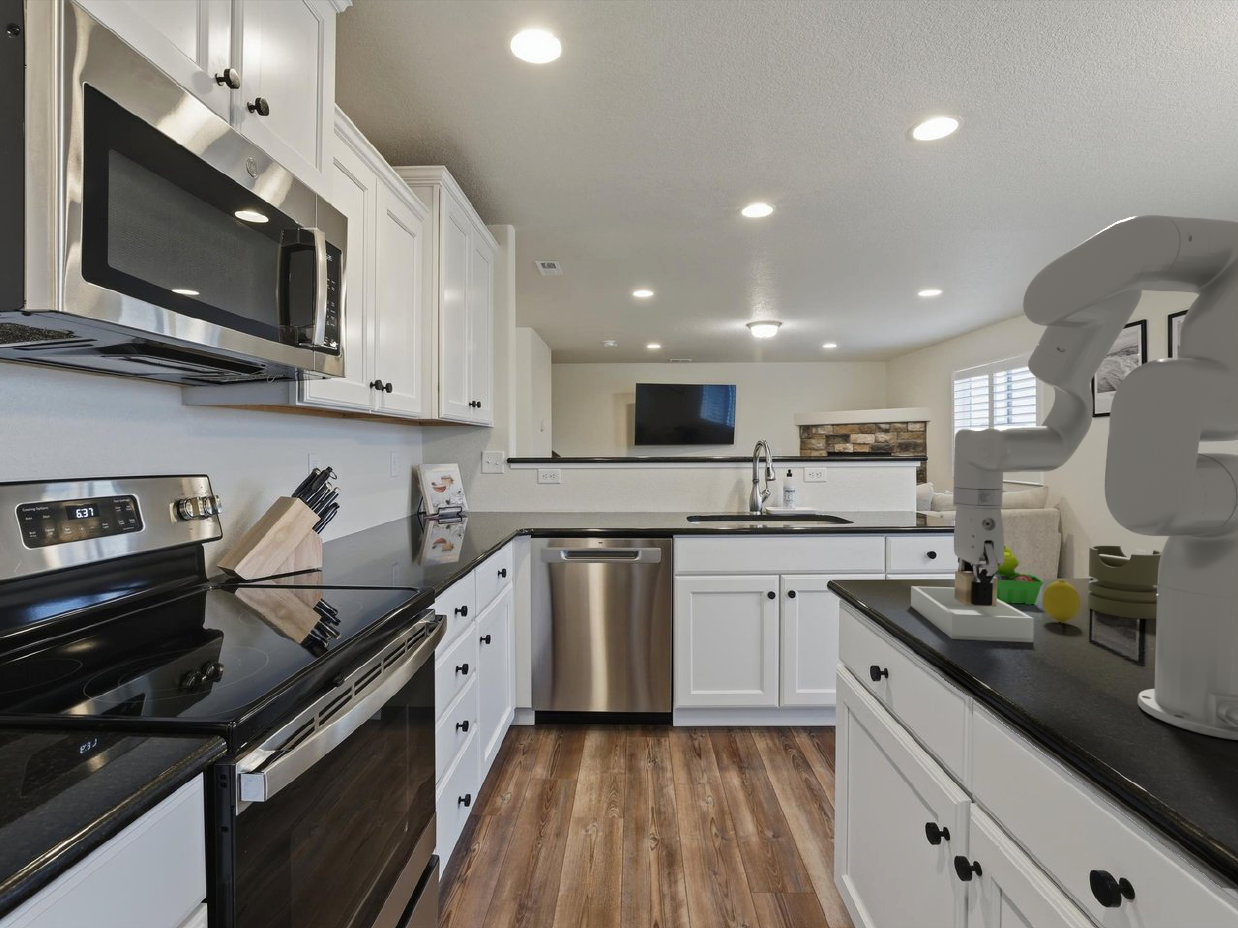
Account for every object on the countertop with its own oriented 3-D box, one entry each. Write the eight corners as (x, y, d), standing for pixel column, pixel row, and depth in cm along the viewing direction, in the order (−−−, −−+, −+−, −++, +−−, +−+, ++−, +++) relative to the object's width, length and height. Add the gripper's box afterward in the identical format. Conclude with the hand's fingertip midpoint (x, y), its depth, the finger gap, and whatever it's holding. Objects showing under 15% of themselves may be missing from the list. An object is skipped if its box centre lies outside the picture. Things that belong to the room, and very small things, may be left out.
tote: (1033, 642, 103) (1033, 618, 103) (952, 638, 105) (952, 615, 105) (977, 608, 125) (978, 588, 125) (910, 605, 127) (911, 586, 126)
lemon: (1044, 624, 113) (1045, 580, 113) (1040, 617, 118) (1041, 575, 118) (1082, 628, 111) (1083, 584, 111) (1076, 621, 116) (1077, 578, 116)
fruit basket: (980, 603, 129) (981, 548, 129) (970, 593, 138) (970, 542, 137) (1044, 607, 126) (1045, 551, 125) (1029, 596, 134) (1030, 544, 134)
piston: (1147, 557, 115) (1078, 548, 125) (1145, 621, 115) (1076, 607, 125) (1174, 551, 121) (1106, 543, 130) (1172, 613, 121) (1104, 600, 131)
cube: (965, 605, 109) (966, 577, 109) (954, 598, 114) (955, 570, 114) (996, 606, 108) (997, 578, 108) (983, 599, 113) (984, 571, 113)
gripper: (1024, 503, 101) (1021, 614, 102) (979, 494, 118) (976, 589, 119) (974, 503, 102) (971, 613, 103) (937, 493, 119) (935, 588, 120)
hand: (974, 599), depth 111 cm, fingers closed on cube, 5 cm apart
